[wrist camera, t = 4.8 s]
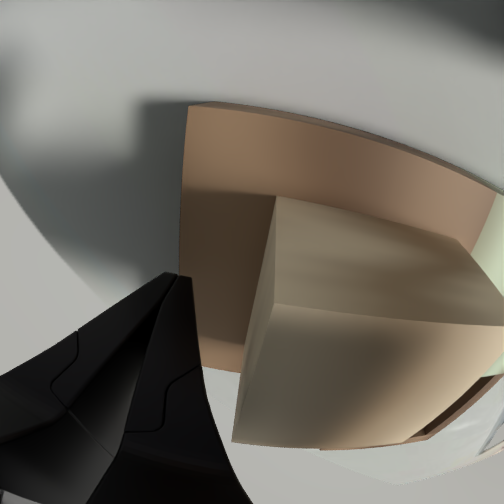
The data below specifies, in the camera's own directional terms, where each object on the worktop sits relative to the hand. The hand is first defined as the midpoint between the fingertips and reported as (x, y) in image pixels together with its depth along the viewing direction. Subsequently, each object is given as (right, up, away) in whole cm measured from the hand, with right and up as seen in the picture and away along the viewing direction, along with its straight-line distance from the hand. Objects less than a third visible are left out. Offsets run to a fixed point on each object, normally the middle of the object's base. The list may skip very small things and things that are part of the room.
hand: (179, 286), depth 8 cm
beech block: (+5, -1, +1) cm, 5 cm away
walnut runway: (+16, -5, +6) cm, 18 cm away
